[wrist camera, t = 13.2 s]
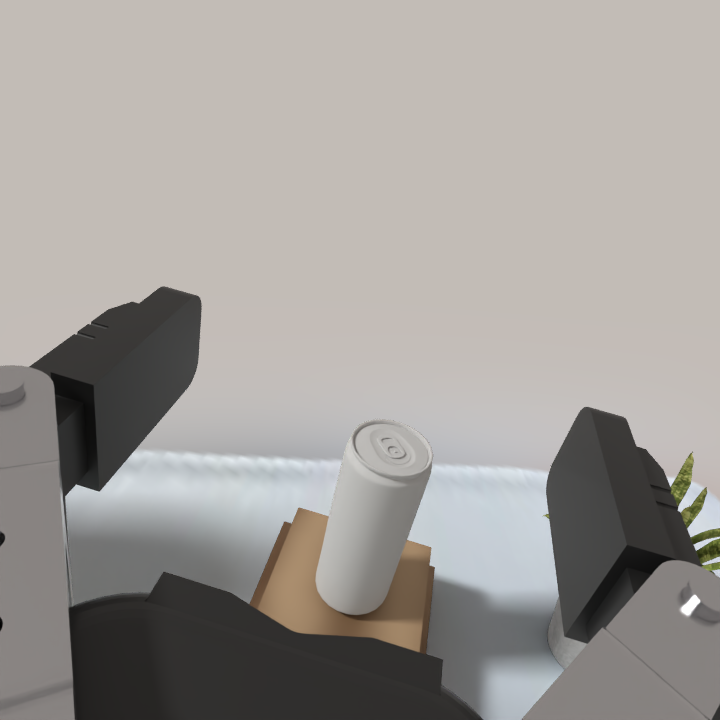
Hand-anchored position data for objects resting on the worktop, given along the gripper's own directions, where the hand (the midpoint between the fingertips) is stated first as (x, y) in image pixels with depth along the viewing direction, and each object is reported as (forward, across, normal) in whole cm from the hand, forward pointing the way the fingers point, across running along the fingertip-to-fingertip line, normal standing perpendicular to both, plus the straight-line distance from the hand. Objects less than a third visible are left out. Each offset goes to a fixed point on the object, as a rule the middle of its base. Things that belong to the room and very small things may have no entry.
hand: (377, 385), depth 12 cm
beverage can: (+14, -1, +25) cm, 29 cm away
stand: (+14, -1, +30) cm, 33 cm away
